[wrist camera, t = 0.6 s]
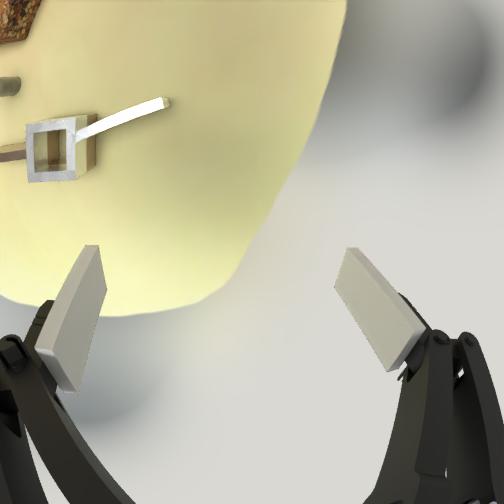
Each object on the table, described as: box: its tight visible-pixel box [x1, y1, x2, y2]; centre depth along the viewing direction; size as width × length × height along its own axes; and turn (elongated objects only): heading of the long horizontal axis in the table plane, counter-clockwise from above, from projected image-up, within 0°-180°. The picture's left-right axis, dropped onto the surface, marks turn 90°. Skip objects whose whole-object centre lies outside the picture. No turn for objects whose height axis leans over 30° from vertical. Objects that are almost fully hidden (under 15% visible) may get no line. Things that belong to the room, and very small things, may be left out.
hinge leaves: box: [0, 98, 170, 183], centre depth 27 cm, size 9×29×8 cm, turn 81°
